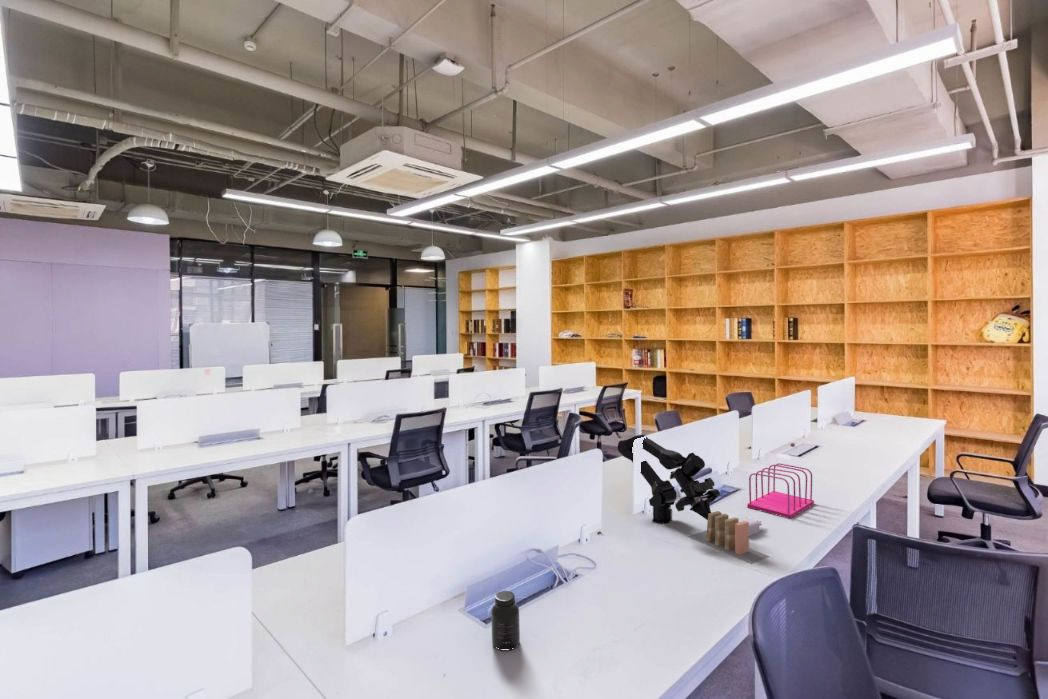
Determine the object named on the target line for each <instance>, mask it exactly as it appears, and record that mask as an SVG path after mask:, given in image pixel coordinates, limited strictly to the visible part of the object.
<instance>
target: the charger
mask: <svg viewBox="0 0 1048 699" xmlns="http://www.w3.org/2000/svg"><path fill="white" fill-rule="evenodd" d="M733 517H735V518H738V523H739V522H742V521H747V522H749V537H750V536H753V535H755V534H758V533H760V526H762V525H763V524H762V520H759V519H756V518H753V517H751V518H749V517H747V516H744V515H742V514H741V515H740V514H739V515H736V516H731V517H728V519H730V518H733Z"/></svg>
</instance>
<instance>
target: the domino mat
mask: <svg viewBox="0 0 1048 699" xmlns="http://www.w3.org/2000/svg"><path fill="white" fill-rule="evenodd" d="M706 533H707V530H704V531H700V532H696V533H694V534H690V535H687V536H686V537H687V538H690V539H691V540H695V541H696V542H699V543H701V544H704V545H705V546H708V547H710V548H712V549H715V550H717V551H719V552H721V553H724V554H726V555H729V556H731V557H734V558H736V559H738V560H740V561H743V562H745V563H747V564H750V565H752V564H755V563H757V562H760V561H763V560H764V559H768V558H771V556H770V555H767V554H766V553H764V552H763V553H762V552H760V551H757V550H755V549H752V548H751V547H749V551H748V552H746V553H743V554H740V555H738V554H736V553H735V549H732V550H726V549H725V544H724V545H722V546H717V545H715V541H712V542H708V541H706Z"/></svg>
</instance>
